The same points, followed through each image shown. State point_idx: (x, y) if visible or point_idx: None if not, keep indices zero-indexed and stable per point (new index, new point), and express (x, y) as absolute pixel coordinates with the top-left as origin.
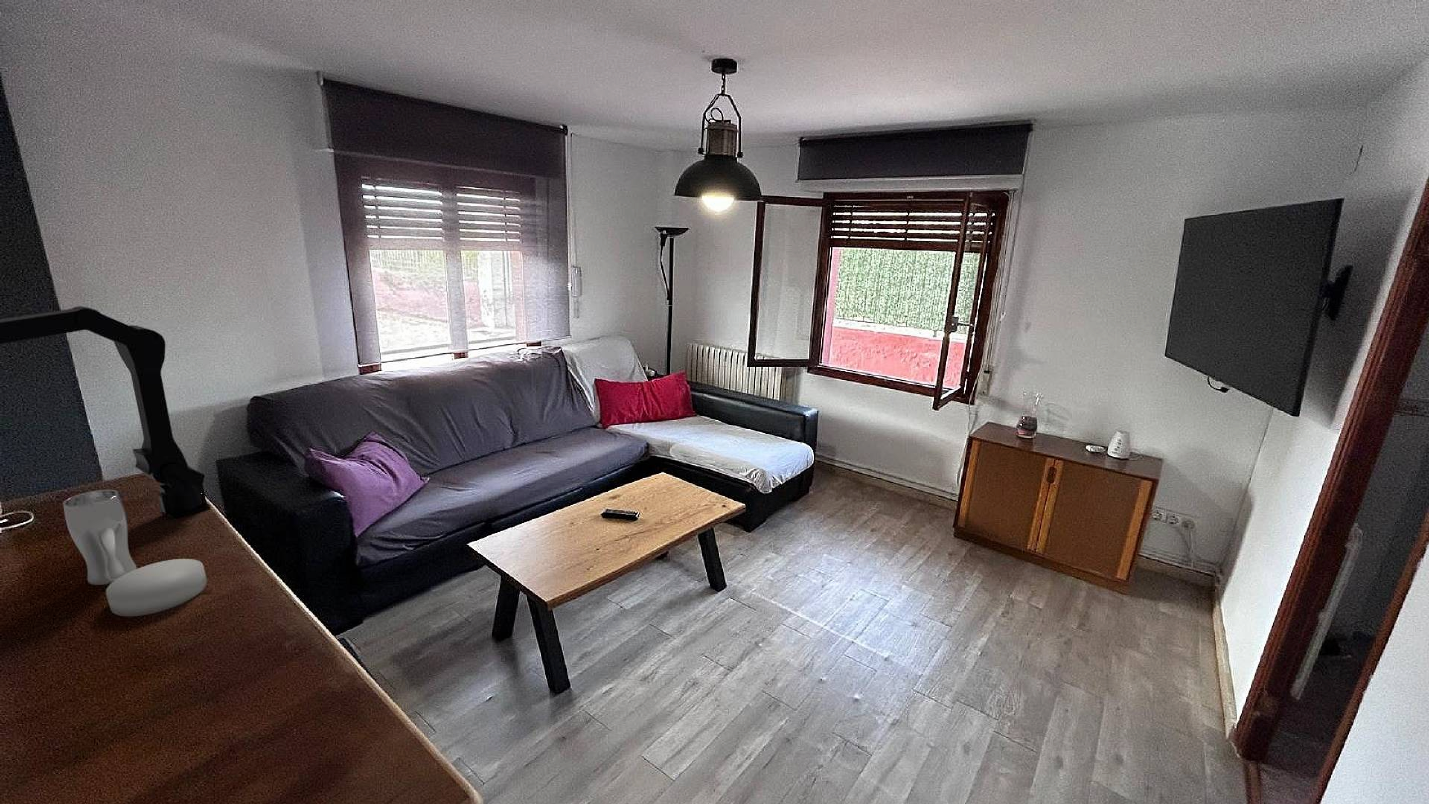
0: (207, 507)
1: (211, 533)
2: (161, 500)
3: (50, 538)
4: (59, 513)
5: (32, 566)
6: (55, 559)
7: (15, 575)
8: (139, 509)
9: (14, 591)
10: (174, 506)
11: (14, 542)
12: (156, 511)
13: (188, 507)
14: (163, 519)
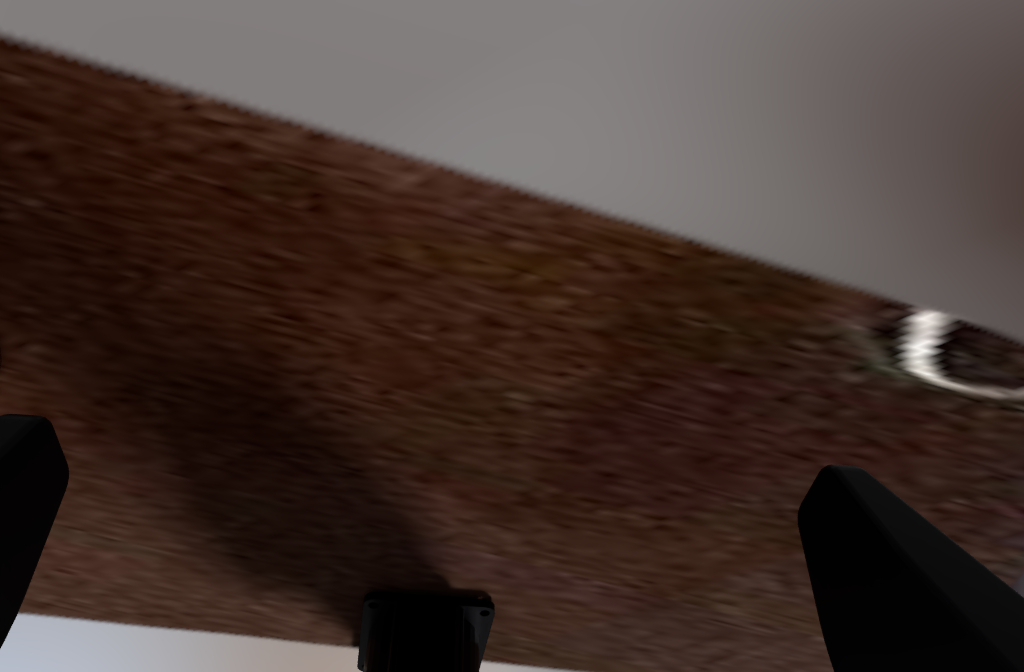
0: (358, 662)
1: (104, 600)
2: (414, 659)
3: (611, 342)
4: (869, 441)
5: (322, 201)
6: (322, 277)
7: (266, 123)
8: (590, 570)
9: (31, 50)
10: (388, 643)
11: (724, 255)
12: (509, 587)
13: (366, 650)
14: (401, 575)
